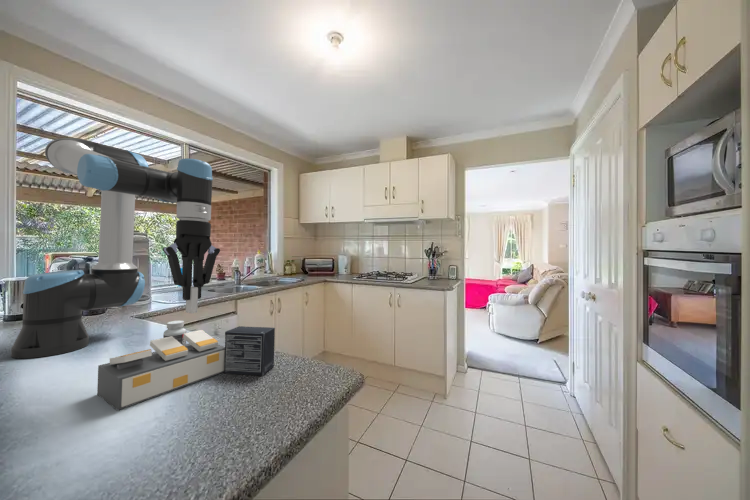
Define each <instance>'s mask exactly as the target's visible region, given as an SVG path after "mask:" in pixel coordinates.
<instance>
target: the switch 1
mask: <svg viewBox="0 0 750 500" xmlns="http://www.w3.org/2000/svg"><path fill="white" fill-rule="evenodd" d="M152 350H153V349H151V348H149V349H146V350H140V351H136V352H131V353H128V354H123V355H120V356H114V357H110V358H109V363H110V364H117V363H124V362H129V361H133V360H137V359H141V358H144V357H148V356H152V352H153V351H152Z"/></svg>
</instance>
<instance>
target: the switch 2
mask: <svg viewBox="0 0 750 500" xmlns="http://www.w3.org/2000/svg"><path fill="white" fill-rule="evenodd" d="M149 347H151V348H152V350H154V352H157V353H158V354H159V355H160V356H161V357H162V358H163V359H164V360H165V361H167V360H171V359H175V358H178V357H182V356H185V355H188V349H187V348H186V347H185V346H183V345H182V344H181V343H179V342H178V341H177V340H176V339H175V338H174V337H173V336H170V337H166V338H163V337H161V338H158V339H152V340H150V341H149Z"/></svg>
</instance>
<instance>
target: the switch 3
mask: <svg viewBox="0 0 750 500" xmlns="http://www.w3.org/2000/svg"><path fill="white" fill-rule="evenodd" d="M183 338H184V339H185V340H186V343H187V344H189V343H190V344H191V345H192V346H193V347H194V348H195V349H197V350H198V351H199V352H200V351H204V350H207V349H211V348H215V347H218V345H219V340H217V339H215V338H214V337H212V336H211V335H210V334H208V333H206V331H204V330H203V329H199V330H194V331H190V332H186V333H184V335H183Z"/></svg>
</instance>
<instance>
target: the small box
mask: <svg viewBox="0 0 750 500" xmlns="http://www.w3.org/2000/svg"><path fill="white" fill-rule="evenodd" d="M275 330H276V328H275V327H265V326H263V327H262V326H245V325H244V326H240V325H239V326H236V327H234V328H231V329H229V330H226V331H225V332H224V337H225V338H224V341H225V343H224V347H225V362H224V363H225V364H224V372H223V373H224V374H226V375H227V374H229V375H246V376H261V377H262V376H264V375H265V374H266V373H268V372H269V371H270V370H272V368H274V367H275V337H276V336H275V334H276V333H275Z"/></svg>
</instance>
